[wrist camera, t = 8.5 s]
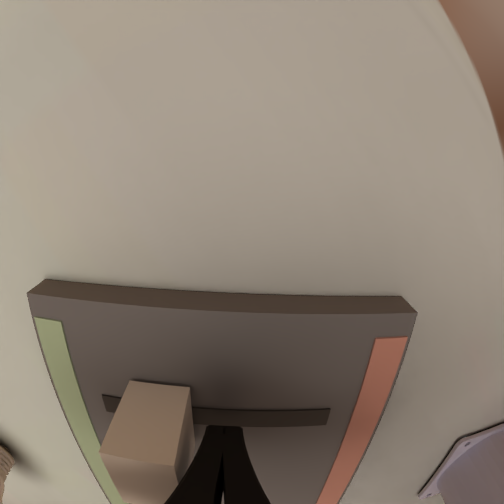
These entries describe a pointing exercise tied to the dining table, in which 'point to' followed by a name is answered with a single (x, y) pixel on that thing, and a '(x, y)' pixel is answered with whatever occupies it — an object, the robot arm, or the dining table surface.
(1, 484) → the lightbulb
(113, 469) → the block
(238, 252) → the dining table surface
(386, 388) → the breaker panel
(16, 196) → the dining table surface
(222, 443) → the robot arm
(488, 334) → the dining table surface
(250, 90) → the dining table surface
